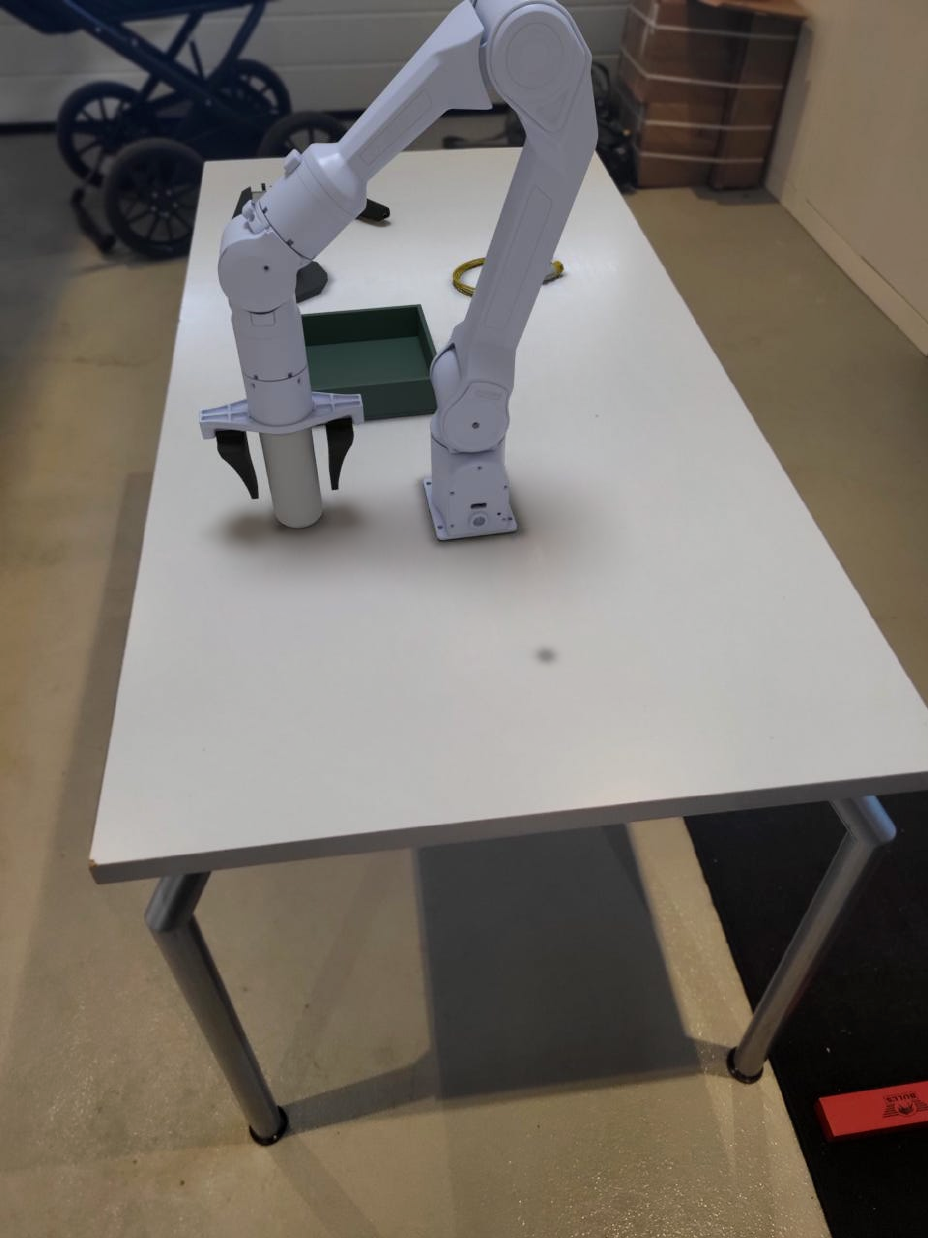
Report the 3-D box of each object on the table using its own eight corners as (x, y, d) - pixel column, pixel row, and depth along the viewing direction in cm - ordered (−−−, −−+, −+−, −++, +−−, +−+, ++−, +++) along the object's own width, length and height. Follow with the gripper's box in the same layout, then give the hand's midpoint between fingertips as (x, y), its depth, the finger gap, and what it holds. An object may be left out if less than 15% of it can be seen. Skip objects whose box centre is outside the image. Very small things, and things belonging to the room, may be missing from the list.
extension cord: (569, 299, 120) (571, 285, 119) (454, 301, 119) (454, 287, 118) (558, 259, 128) (559, 245, 127) (450, 260, 128) (450, 247, 126)
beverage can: (315, 534, 87) (299, 431, 78) (268, 527, 87) (247, 425, 79) (329, 503, 90) (316, 401, 81) (284, 497, 91) (266, 395, 82)
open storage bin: (445, 411, 101) (444, 377, 98) (294, 427, 99) (289, 392, 96) (421, 336, 113) (420, 303, 110) (286, 349, 111) (281, 315, 107)
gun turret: (234, 333, 113) (213, 232, 104) (237, 263, 127) (219, 168, 117) (332, 326, 115) (321, 226, 105) (325, 257, 128) (315, 163, 119)
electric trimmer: (378, 231, 135) (377, 210, 132) (312, 201, 142) (310, 180, 139) (396, 224, 137) (395, 203, 134) (330, 194, 144) (328, 174, 141)
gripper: (353, 333, 80) (364, 455, 90) (189, 347, 78) (219, 471, 88) (361, 374, 75) (372, 499, 85) (187, 391, 73) (219, 516, 83)
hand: (294, 488), depth 86 cm, fingers open, 7 cm apart
